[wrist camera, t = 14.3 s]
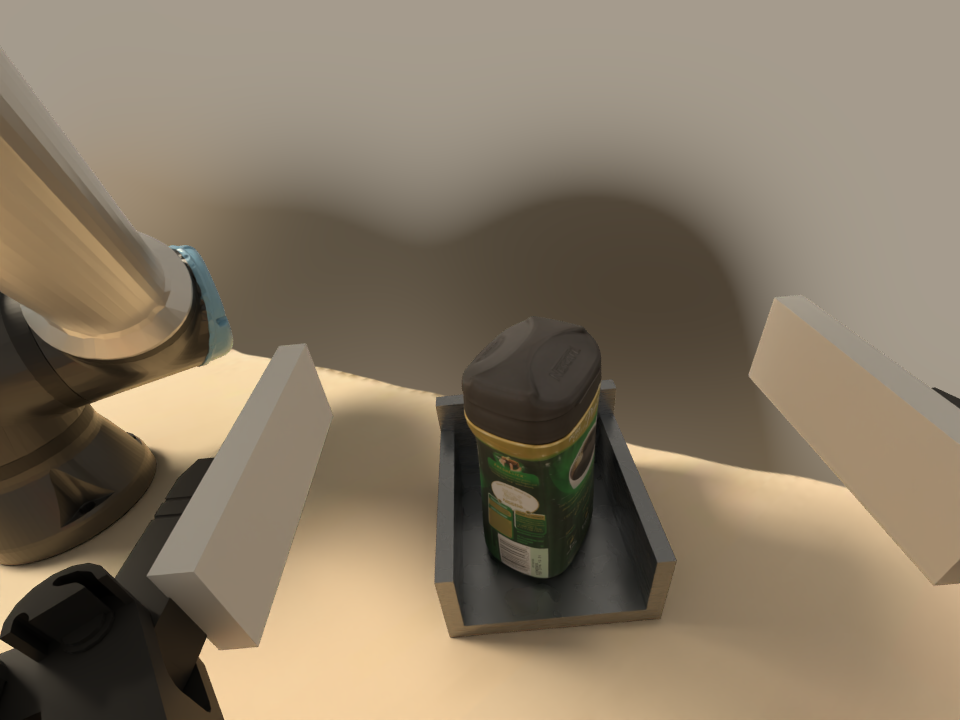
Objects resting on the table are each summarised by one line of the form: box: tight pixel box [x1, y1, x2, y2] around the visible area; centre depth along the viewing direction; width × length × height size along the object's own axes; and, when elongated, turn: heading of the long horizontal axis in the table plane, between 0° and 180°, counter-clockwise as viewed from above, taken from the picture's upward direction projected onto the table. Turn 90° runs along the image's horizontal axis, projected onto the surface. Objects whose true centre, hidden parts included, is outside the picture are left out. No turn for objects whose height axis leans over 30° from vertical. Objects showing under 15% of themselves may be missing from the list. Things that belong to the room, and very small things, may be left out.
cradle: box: [435, 380, 676, 637], centre depth 36 cm, size 15×15×10 cm
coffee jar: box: [462, 316, 601, 579], centre depth 33 cm, size 10×8×19 cm
